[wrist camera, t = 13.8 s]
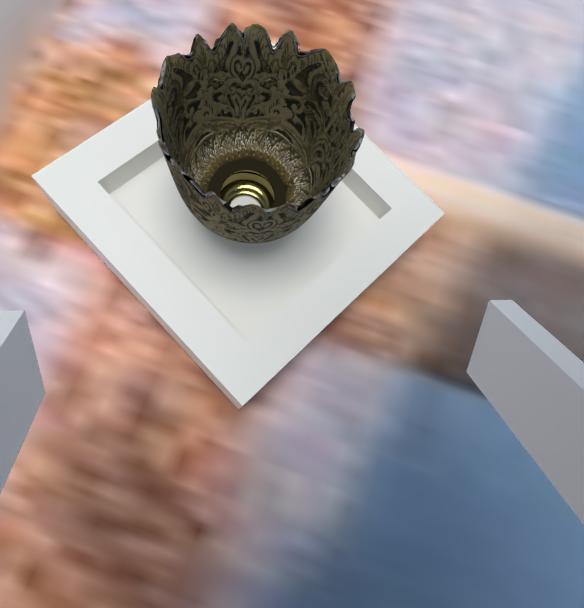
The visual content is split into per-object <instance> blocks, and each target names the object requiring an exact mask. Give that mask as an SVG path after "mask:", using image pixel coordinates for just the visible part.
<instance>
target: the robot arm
mask: <svg viewBox="0 0 584 608" xmlns="http://www.w3.org/2000/svg"><path fill="white" fill-rule="evenodd" d="M467 373H468V375H469V376H470V377H471V378H472V380H473V381H474V382H475V384H476V385H477V386H478V388H479V389H480V390H481V392H482V393H483V394H484V395H485V397H486V398H487V399H488V401H489V402H490V403H491V405H492V406H493V407H494V409H495V410H496V411H497V412H498V414H499V415H500V416H501V418H502V419H503V420H504V422H505V423H506V424H507V426H508V427H509V428H510V429H511V431H512V432H513V433H514V435H515V436H516V437H517V439H518V440H519V441H520V442H521V444H522V445H523V446H524V448H525V449H526V450H527V452H528V453H529V454H530V456H531V457H532V458H533V459H534V461H535V462H536V463H537V465H538V466H539V467H540V469H541V470H542V471H543V473H544V474H545V475H546V476H547V478H548V479H549V480H550V482H551V483H552V484H553V486H554V487H555V488H556V490H557V491H558V492H559V493H560V495H561V496H562V497H563V499H564V500H565V501H566V503H567V504H568V505H569V507H570V508H571V509H572V510H573V512H574V513H575V514H576V516H577V517H578V518H579V520H580V521H581V522H582V524H583V525H584V363H583V362H582V361H581V360H580V359H579V358H578V357H577V356H575V355H574V354H573V353H572V352H571V351H570V350H569V349H567V348H566V347H565V346H564V345H563V344H562V343H561V342H559V341H558V340H557V339H556V338H555V337H554V336H553V335H551V334H550V333H549V332H548V331H547V330H546V329H545V328H543V327H542V326H541V325H540V324H539V323H538V322H537V321H535V320H534V319H533V318H532V317H531V316H530V315H529V314H528V313H526V312H525V311H524V310H523V309H522V308H521V307H520V306H518V305H517V304H516V303H515V302H514V301H513V300H489V302H488V305H487V309H486V312H485V315H484V318H483V321H482V324H481V328H480V331H479V334H478V337H477V340H476V343H475V346H474V350H473V353H472V356H471V359H470V362H469V365H468V369H467ZM44 395H45V389H44V385H43V381H42V377H41V373H40V369H39V365H38V361H37V357H36V353H35V349H34V346H33V342H32V338H31V334H30V330H29V326H28V322H27V318H26V314H25V310H12V311H0V494H1V491H2V489H3V487H4V485H5V482H6V480H7V478H8V476H9V473H10V471H11V469H12V467H13V464H14V462H15V460H16V458H17V455H18V453H19V451H20V449H21V446H22V444H23V442H24V440H25V437H26V435H27V433H28V431H29V429H30V426H31V424H32V422H33V420H34V417H35V415H36V413H37V411H38V408H39V406H40V404H41V402H42V399H43V397H44Z"/></svg>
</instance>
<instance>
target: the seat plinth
mask: <svg viewBox="0 0 584 608" xmlns="http://www.w3.org/2000/svg"><path fill="white" fill-rule="evenodd" d="M271 44H272V46H275V45H274V44H273V43H272V42H271ZM272 48H273V47H272ZM275 48H276V47H275ZM275 48H273V49H275ZM356 128H358V127H357V126H356V125H355V124H354V129H355V130H356ZM156 130H157V121H156V117H155V113H154V110H153V107H152V102H151V99H150V100H148V101H147V102H145V103H143V104H142V105H140V106H139V107H137V108H136V109H134V110H133V111H131V112H130V113H128V114H126V115H125V116H123V117H122V118H120V119H119V120H117V121H116V122H114V123H112V124H111V125H109V126H108V127H106V128H105V129H103V130H102V131H100V132H98V133H97V134H95V135H94V136H92V137H91V138H89V139H88V140H86V141H85V142H83V143H81V144H80V145H78V146H77V147H75V148H74V149H72V150H71V151H69V152H67V153H66V154H64V155H63V156H61V157H60V158H58V159H57V160H55V161H54V162H52V163H50V164H49V165H47V166H46V167H44V168H43V169H41V170H40V171H38V172H36V173H35V174H33V175H32V177H33V179H34V180H35V182H36V183H37V184H38V186H39V187H40V188H41V190H42V191H43V193H44V194H45V195H46V197H47V198H48V200H49V201H50V202H51V204H52V205H53V206H54V208H55V209H56V211H57V212H58V213H59V214H60V215H61V216H62V217H63V218H64V219H65V220H66V222H67V223H68V224H69V225H70V226H71V227H72V228H73V229H74V230H75V231H76V232H77V234H78V235H79V236H80V237H81V238H82V239H83V240H84V241H85V242H86V243H87V244H88V246H89V247H90V248H91V249H92V250H93V251H94V252H95V253H96V254H97V255H98V256H99V258H100V259H101V260H102V261H103V262H104V263H105V264H106V265H107V266H108V267H109V268H110V270H111V271H112V272H113V273H114V274H115V275H116V276H117V277H118V278H119V279H120V280H121V282H122V283H123V284H124V285H125V286H126V287H127V288H128V289H129V290H130V291H131V293H132V294H133V295H134V296H135V297H136V298H137V299H138V300H139V301H140V302H141V303H142V305H143V306H144V307H145V308H146V309H147V310H148V311H149V312H150V313H151V314H152V315H153V317H154V318H155V319H156V320H157V321H158V322H159V323H160V324H161V325H162V326H163V327H164V329H165V330H166V331H167V332H168V333H169V334H170V335H171V336H172V337H173V338H174V339H175V341H176V342H177V343H178V344H179V345H180V346H181V347H182V348H183V349H184V350H185V351H186V353H187V354H188V355H189V356H190V357H191V358H192V359H193V360H194V361H195V362H196V364H197V365H198V366H199V367H200V368H201V369H202V370H203V371H204V372H205V373H206V374H207V376H208V377H209V378H210V379H211V380H212V381H213V382H214V383H215V384H216V385H217V386H218V388H219V389H220V390H221V391H222V392H223V393H224V394H225V395H226V396H227V397H228V398H229V400H230V401H231V402H232V403H233V404H234V405H235V406H236V407H237V408H238V409H240V408H241V407H242V406H243V405H244V404H245V403H246V402H247V401H248V400H250V399H251V398H252V397H253V396H254V395H255V394H256V393H257V392H258V391H259V390H260V389H261V388H262V387H263V386H264V385H265V384H266V383H267V382H268V381H269V380H270V379H272V378H273V377H274V376H275V375H276V374H277V373H278V372H279V371H280V370H281V369H282V368H283V367H284V366H285V365H286V364H287V363H288V362H289V361H290V360H291V359H292V358H294V357H295V356H296V355H297V354H298V353H299V352H300V351H301V350H302V349H303V348H304V347H305V346H306V345H307V344H308V343H309V342H310V341H311V340H312V339H313V338H314V337H316V336H317V335H318V334H319V333H320V332H321V331H322V330H323V329H324V328H325V327H326V326H327V325H328V324H329V323H330V322H331V321H332V320H333V319H334V318H335V317H336V316H338V315H339V314H340V313H341V312H342V311H343V310H344V309H345V308H346V307H347V306H348V305H349V304H350V303H351V302H352V301H353V300H354V299H355V298H356V297H357V296H359V295H360V294H361V293H362V292H363V291H364V290H365V289H366V288H367V287H368V286H369V285H370V284H371V283H372V282H373V281H374V280H375V279H376V278H377V277H378V276H379V275H381V274H382V273H383V272H384V271H385V270H386V269H387V268H388V267H389V266H390V265H391V264H392V263H393V262H394V261H395V260H396V259H397V258H398V257H399V256H400V255H401V254H403V253H404V252H405V251H406V250H407V249H408V248H409V247H410V246H411V245H412V244H413V243H414V242H415V241H416V240H417V239H418V238H419V237H420V236H421V235H422V234H423V233H425V232H426V231H427V230H428V229H429V228H430V227H431V226H432V225H433V224H434V223H435V222H436V221H437V220H438V219H439V218H440V217H441V216H442V215H443V214H444V212H443V211H442V210H441V209H440V208H439V207H438V206H437V205H436V204H435V203H434V202H433V201H432V200H431V199H430V198H429V197H428V196H427V195H426V194H425V193H424V192H423V191H422V190H421V189H420V188H419V187H418V186H417V185H416V184H415V183H414V182H413V181H412V180H411V179H410V178H409V177H408V176H407V175H405V174H404V173H403V172H402V171H401V170H400V169H399V168H398V167H397V166H396V165H395V164H394V163H393V162H392V161H391V160H390V159H389V158H388V157H387V156H386V155H385V154H384V153H383V152H382V151H381V150H380V149H379V148H378V147H377V146H376V145H375V144H374V143H373V142H372V141H371V140H370V139H369V138H368V137H367V136H366V135H365V134H364V138H363V140H362V143H361V145H360V148H359V149H358V151H357V152H356V156H355V162H354V165H353V167H352V169H351V170H350V172H349V173H348V174H347V175H346V176H345V177H344V178H343V179H342V180H341V181H340V182H339V184H338V185H337V186H336V187H335V189H334V190H333V191H332V193H331V194H330V195H329V196H328V198H327V199H326V200H325V201H324V203H323V204H322V205H321V206H320V207H319V209H318V210H317V211H316V212H315V213H314V214H313V215H312V216H311V217H310V218H309V219H308V220H307V221H306V222H305V223H304V224H303V225H302V226H300V227H299V228H298V229H297V230H295V231H293V232H292V233H290V234H288V235H287V236H285V237H282V238H280V239H277V240H274V241H271V242H266V243H258V244H249V243H240V242H235V241H232V240H229V239H226V238H223V237H221V236H219V235H217V234H215V233H213V232H212V231H210V230H209V229H207V228H206V227H205V226H204V225H202V224H201V223H200V222H199V221H198V220H197V219H196V217H195V216H194V215H193V214H192V213H191V212H190V210H189V209H188V207H187V206H186V204H185V203H184V201H183V199H182V197H181V196H180V194H179V192H178V190H177V188H176V185H175V183H174V180H173V178H172V175H171V173H170V170H169V168H168V165H167V162H166V160H165V157H164V154H163V152H162V150H161V148H160V146H159V143H158V140H159V139H158V136H157V132H156ZM248 204H255V205H258V206H260V207H261V205H260V203H259V202H258V201H257V200H256V199H255V198H253V197H251V196H248V195H240V196H237V197H236V198H234V199H233V200H232V202H231V203H230V206H231V207H235V206H237V205H242V206H244V205H248Z"/></svg>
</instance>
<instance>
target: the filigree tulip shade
mask: <svg viewBox="0 0 584 608" xmlns="http://www.w3.org/2000/svg"><path fill="white" fill-rule="evenodd" d="M279 42H280V43H279ZM278 43H279V44H278ZM298 44H299V43H298V41H297V39H296V36H295V35H294V33H293V31H290V30H288V31H286V32H285V34H283V35H282V37H281V38H279V41H278V42H277V43H276V44H275V46H272V44H271V40H270V37H269V35H268V33H267V31H266V29H265V28H263V27H262V26H260V25H259V24H252V25H251V26H249V27H246V28H245V30H244V32H243V33H242V32H241V30H238V28H237V27H236V25H235V24H233V23H231V24H230V25H229V26H228V27H227V28H226V30H225V31H224V32H223V34H222V35H221V37H220V38H218V39H216V41H215V43H214V47H213V49H211V48H210V47H209V45H208V44H207V42H206V41H205V40H204V39H203V38H202V37H201V36H200V35H199V34H197V35H196V36H195V38H194V40H193V43H192V47H191V52H190V54H189V55H181V54H180V53H177V54H175V55H172V56H167V57H166V58H165V60H164V62H163V65H162V69H161V74H160V78H159V80H158V87H157V88H156V87H153V89H152V92H151V102H152V107H153V110H154V113H155V117H156V121H157V130H156V132H157V136H158V139H159V140H158V143H159V146H160V148H161V150H162V152H163V154H164V157H165V160H166V162H167V165H168V168H169V170H170V173H171V175H172V178H173V180H174V183H175V185H176V188H177V190H178V192H179V194H180V196H181V197H182V199H183V201H184V203H185V204H186V206H187V207H188V209H189V210H190V212H191V213H192V214H193V215H194V216H195V217H196V219H197V220H198V221H199V222H200V223H201V224H202V225H204V226H205V227H206V228H207V229H209V230H210V231H212V232H213V233H215V234H217V235H219V236H221V237H223V238H226V239H229V240H232V241H235V242H240V243H249V244H258V243H266V242H271V241H274V240H277V239H280V238H282V237H285V236H287V235H288V234H290V233H292V232H293V231H295V230H297V229H298V228H299V227H300V226H302V225H303V224H304V223H305V222H306V221H307V220H308V219H309V218H310V217H311V216H312V215H313V214H314V213H315V212H316V211H317V210H318V209H319V207H320V206H321V205H322V204H323V203H324V201H325V200H326V199H327V198H328V196H329V195H330V194H331V193H332V191H333V190H334V189H335V187H336V186H337V185H338V184H339V182H340V181H341V180H342V179H343V178H344V177H345V176H346V175H347V174H348V173H349V172H350V170H351V169H352V167H353V165H354V162H355V156H356V152H357V151H358V149H359V148H360V145H361V143H362V140H363V138H364V130H363V129H361V128H359V127H358V128H356V130H355V129H354V124H355V120H354V118H353V117H351V113H350V109H351V105H352V102H353V100H354V99H355V96H356V95H355V90H354V85H353V83H352V82H351V81H346V82H342V83H341V79H340V72H339V69H338V66H337V64H336V62H335V61H334V59H333V57H332V56H331V55H330V53H329V51H328V50H326V49H314V50H310V51H306V52H305V51H300V52H299V51H298ZM276 46H277V47H276ZM299 46H300V44H299ZM272 47H273V48H275V47H276V48H275V49H273V48H272ZM299 50H300V49H299ZM240 195H248V196H251V197H253V198H255V199H256V200H257V201H258V202H259V203H260V205H261V207H260V206H258V205H255V204H248V205H244V206H242V205H237V206H235V207H231V206H230V203H231V202H232V200H233V199H234V198H236V197H237V196H240Z"/></svg>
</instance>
